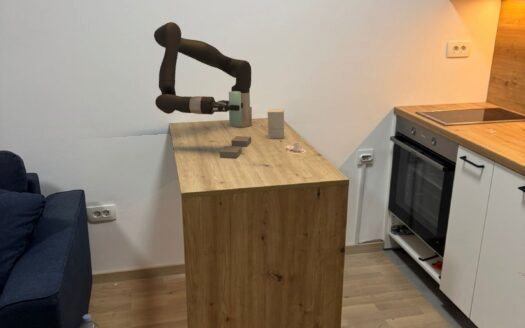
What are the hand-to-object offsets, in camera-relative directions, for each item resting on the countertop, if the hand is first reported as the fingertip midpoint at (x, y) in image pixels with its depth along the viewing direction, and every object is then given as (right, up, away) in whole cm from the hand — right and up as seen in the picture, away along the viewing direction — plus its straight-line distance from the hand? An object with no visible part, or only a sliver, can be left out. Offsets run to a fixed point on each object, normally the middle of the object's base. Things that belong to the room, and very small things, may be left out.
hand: (241, 106), depth 202 cm
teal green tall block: (-2, -7, +3) cm, 8 cm away
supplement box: (+15, -11, +26) cm, 32 cm away
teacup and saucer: (+24, -18, +5) cm, 31 cm away
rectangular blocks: (-2, -18, +6) cm, 19 cm away
